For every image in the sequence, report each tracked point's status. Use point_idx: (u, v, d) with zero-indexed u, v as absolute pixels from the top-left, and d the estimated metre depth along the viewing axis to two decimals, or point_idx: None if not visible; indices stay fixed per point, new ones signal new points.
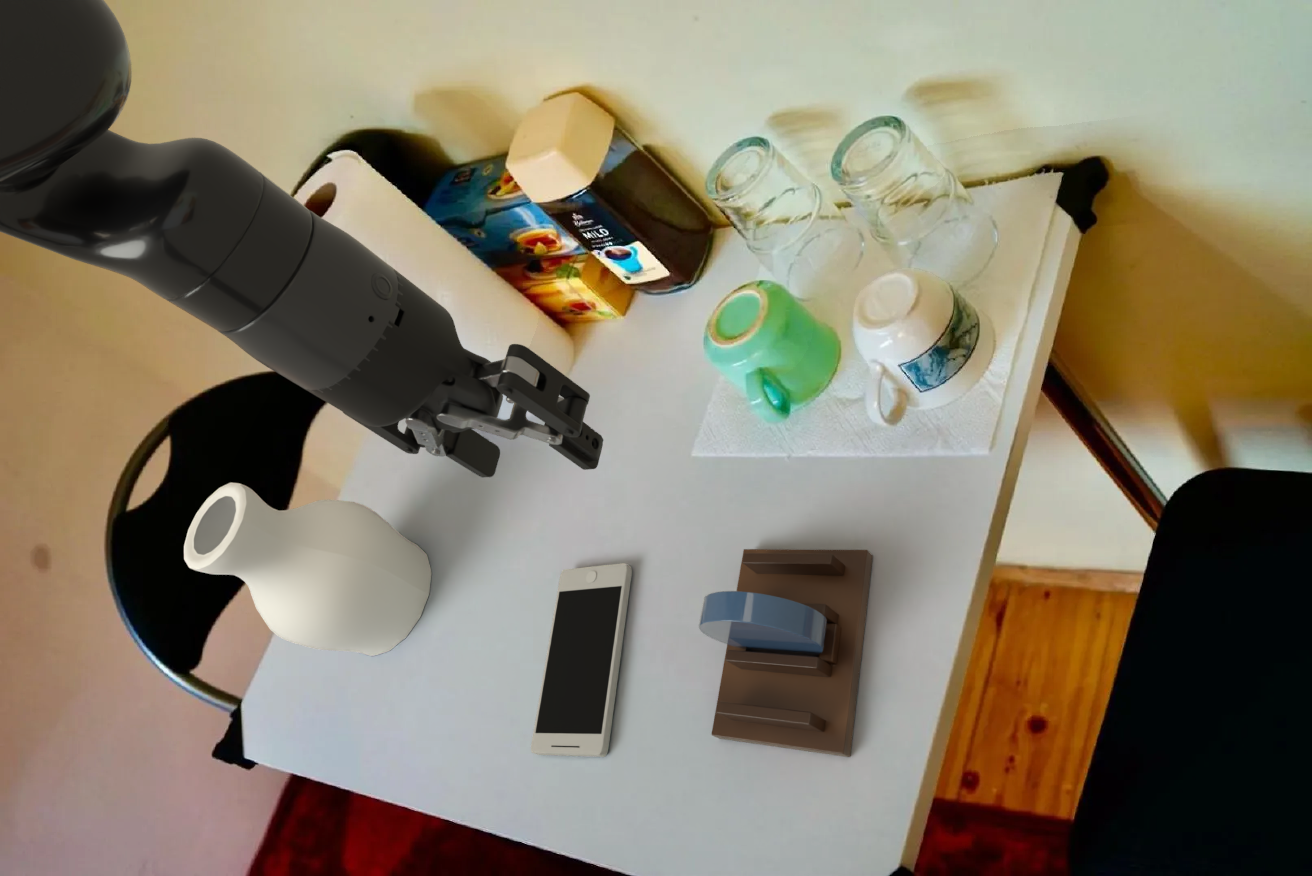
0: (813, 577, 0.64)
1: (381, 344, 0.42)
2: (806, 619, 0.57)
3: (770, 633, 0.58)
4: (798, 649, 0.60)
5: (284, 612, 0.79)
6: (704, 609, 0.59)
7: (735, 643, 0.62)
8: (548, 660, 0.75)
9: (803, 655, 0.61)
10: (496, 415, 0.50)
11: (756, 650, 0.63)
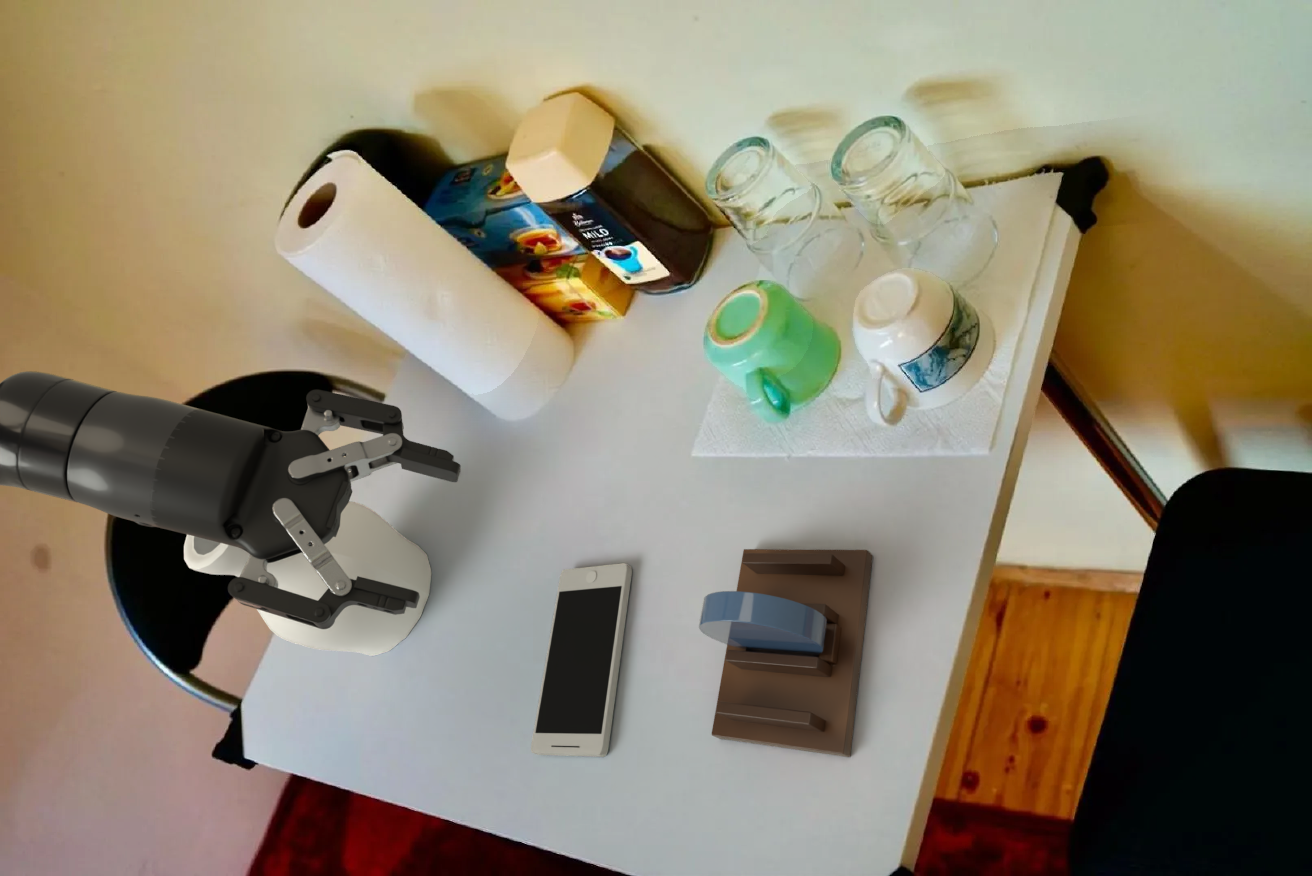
0: (813, 577, 0.64)
1: (202, 410, 0.54)
2: (806, 619, 0.57)
3: (770, 633, 0.58)
4: (798, 649, 0.60)
5: None
6: (704, 609, 0.59)
7: (735, 643, 0.62)
8: (548, 660, 0.75)
9: (803, 655, 0.61)
10: (343, 467, 0.56)
11: (756, 650, 0.63)
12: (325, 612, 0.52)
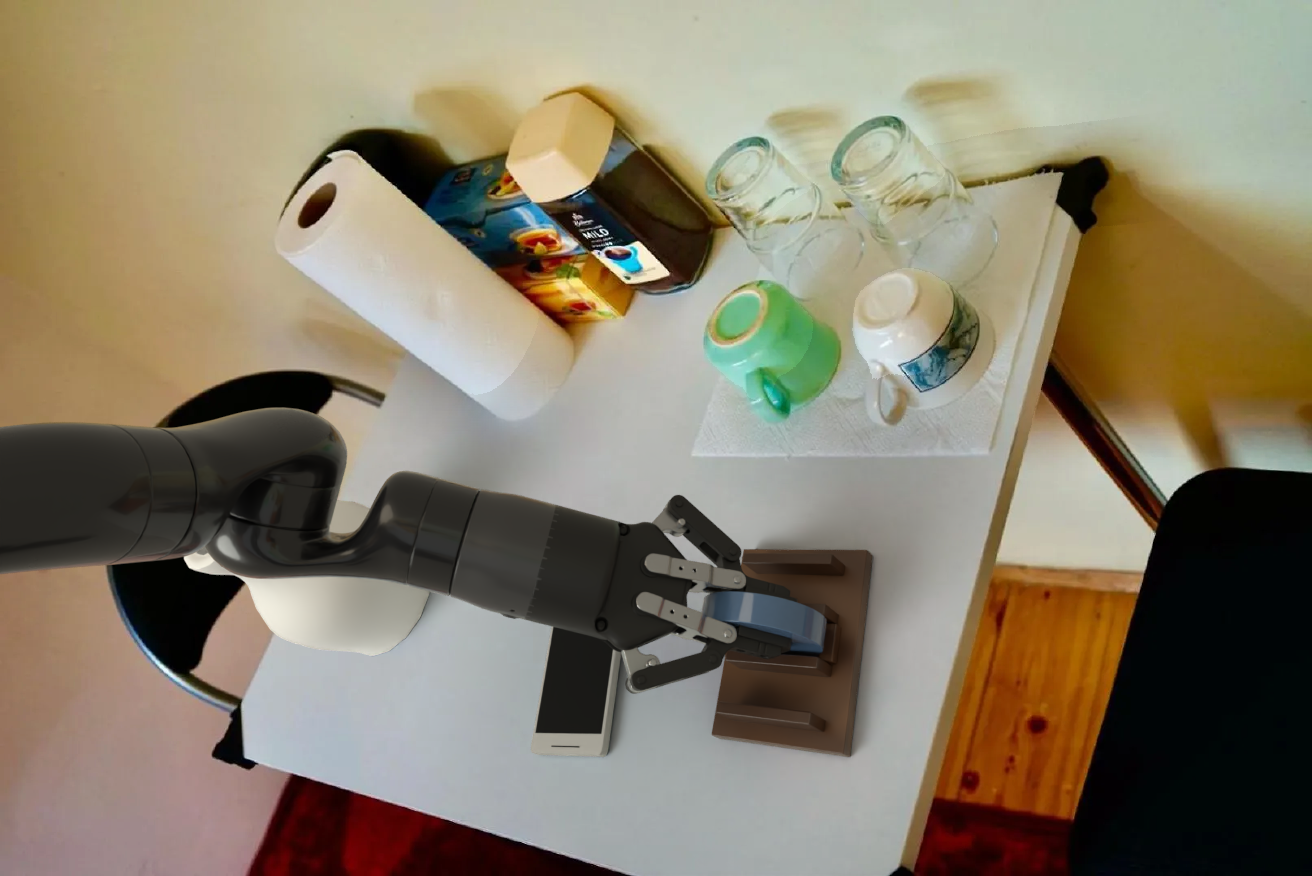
0: (813, 577, 0.64)
1: (559, 506, 0.57)
2: (806, 619, 0.57)
3: None
4: (798, 649, 0.60)
5: (284, 612, 0.79)
6: (704, 609, 0.59)
7: None
8: (548, 660, 0.75)
9: (803, 655, 0.62)
10: (685, 558, 0.59)
11: None
12: (718, 659, 0.56)
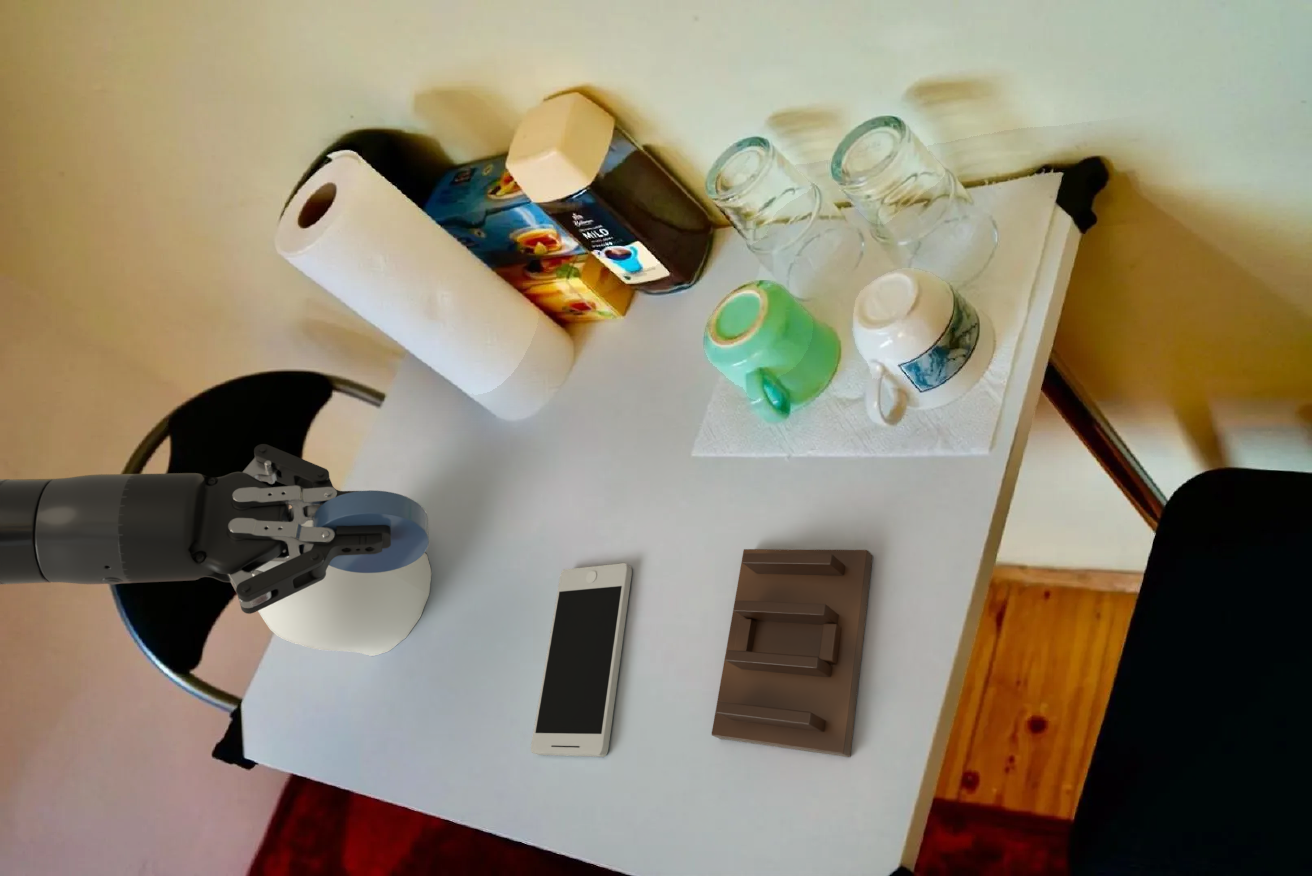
0: (813, 577, 0.64)
1: None
2: (393, 502, 0.65)
3: None
4: (409, 543, 0.67)
5: (284, 612, 0.79)
6: None
7: (360, 565, 0.69)
8: (548, 660, 0.75)
9: (420, 552, 0.69)
10: None
11: (384, 568, 0.70)
12: (319, 555, 0.62)
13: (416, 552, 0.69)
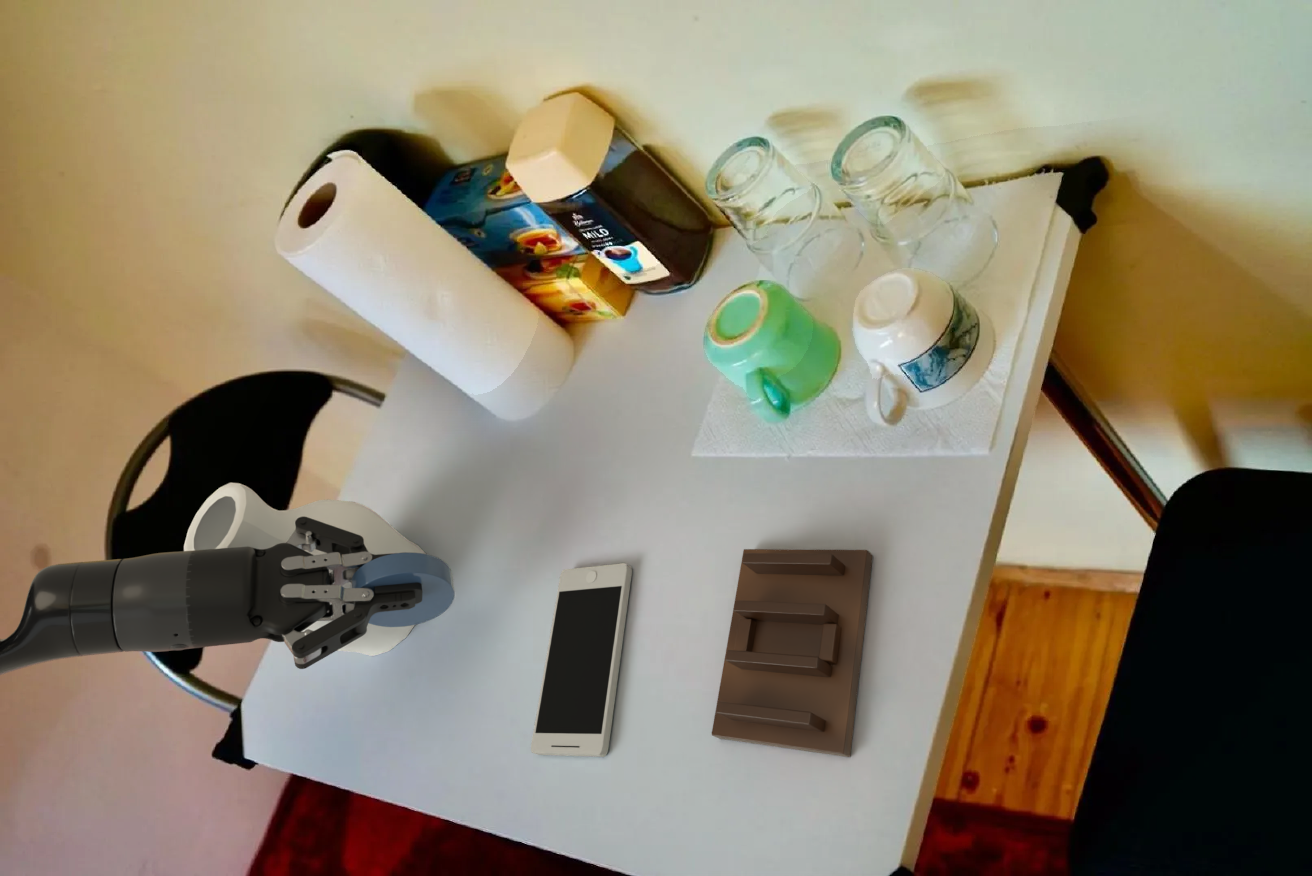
0: (813, 577, 0.64)
1: None
2: (424, 562, 0.73)
3: None
4: (437, 598, 0.76)
5: None
6: None
7: (393, 620, 0.77)
8: (548, 660, 0.75)
9: (447, 605, 0.77)
10: None
11: (414, 622, 0.78)
12: (362, 613, 0.70)
13: (443, 605, 0.77)
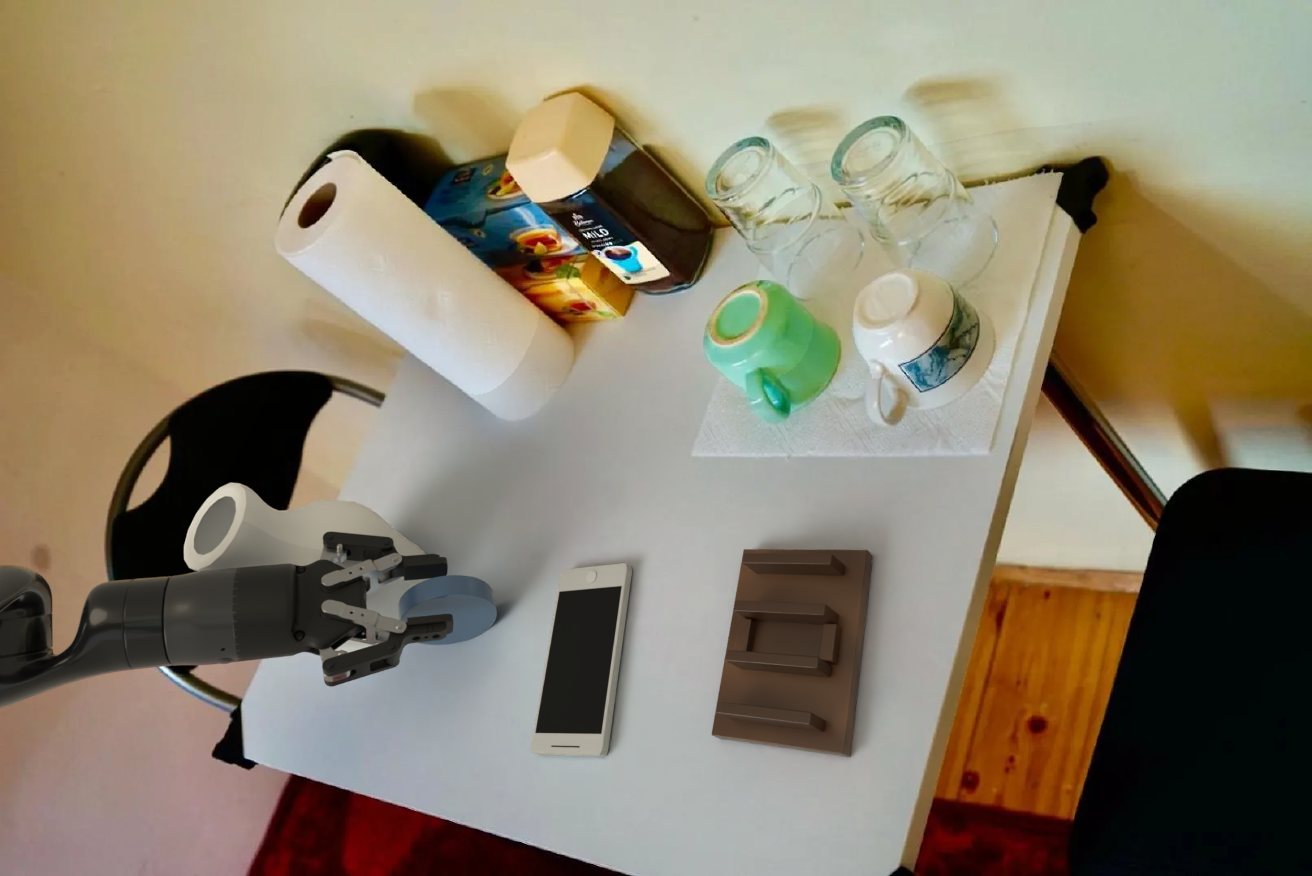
0: (813, 577, 0.64)
1: None
2: (469, 584, 0.77)
3: (448, 605, 0.77)
4: (480, 617, 0.79)
5: None
6: None
7: None
8: (548, 660, 0.75)
9: (489, 624, 0.81)
10: None
11: (457, 640, 0.81)
12: (396, 645, 0.72)
13: (485, 624, 0.81)
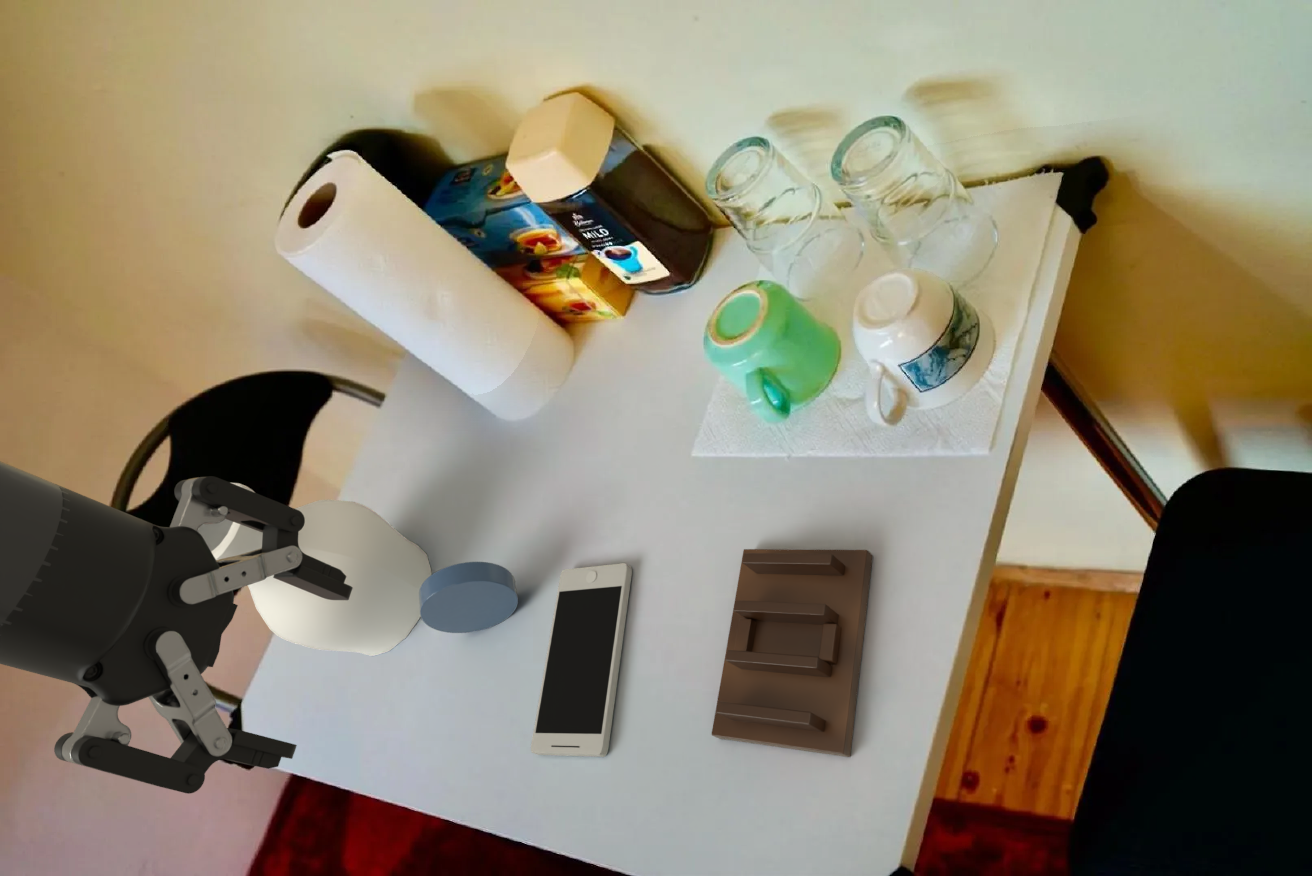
0: (813, 577, 0.64)
1: (66, 491, 0.38)
2: (510, 579, 0.78)
3: (486, 593, 0.77)
4: (494, 614, 0.80)
5: (284, 612, 0.79)
6: (430, 586, 0.76)
7: (441, 623, 0.79)
8: (548, 660, 0.75)
9: (493, 624, 0.81)
10: None
11: (454, 630, 0.80)
12: (199, 779, 0.42)
13: (490, 623, 0.81)
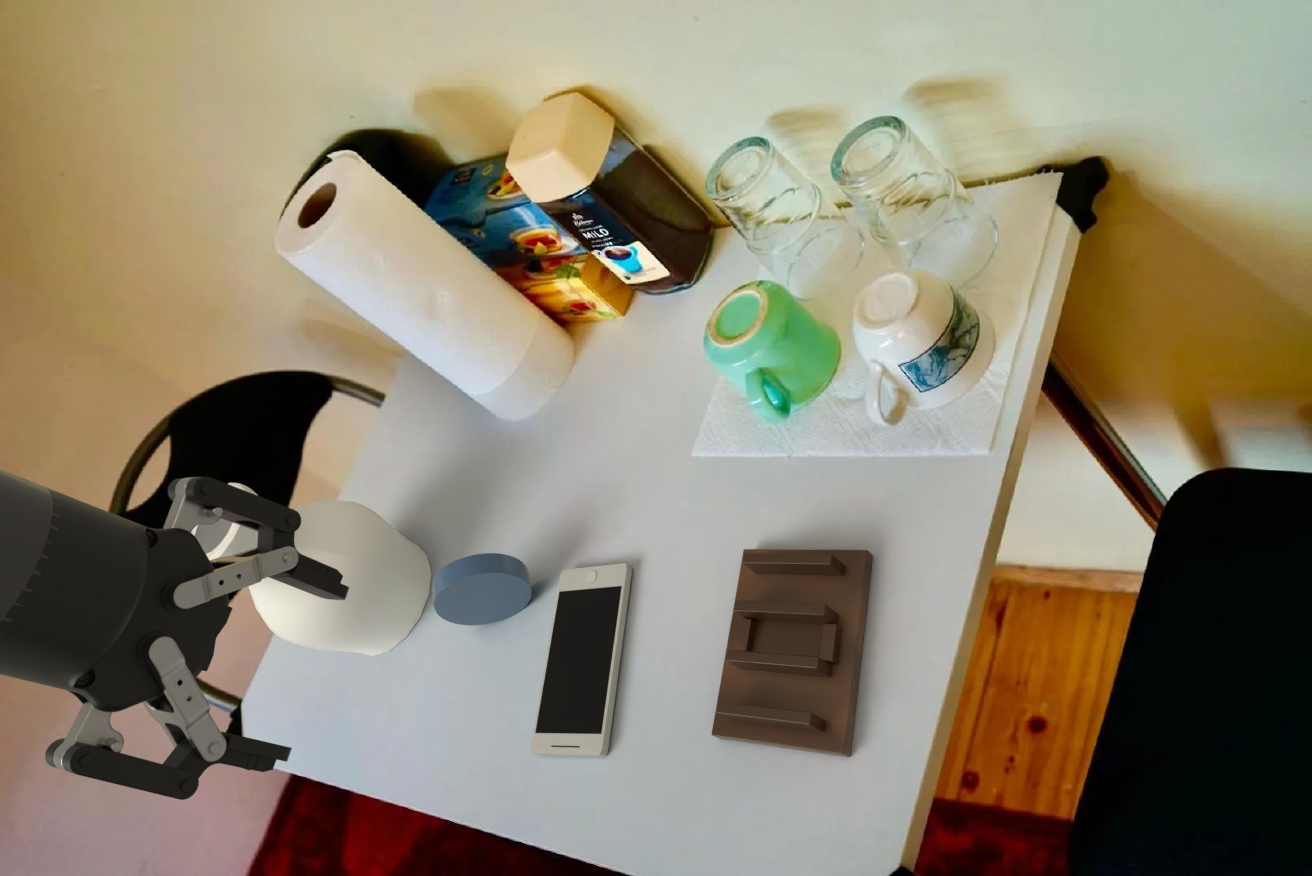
0: (813, 577, 0.64)
1: (56, 494, 0.37)
2: (529, 579, 0.79)
3: (507, 588, 0.77)
4: (499, 612, 0.80)
5: (284, 612, 0.79)
6: (459, 569, 0.75)
7: (448, 609, 0.77)
8: (548, 660, 0.75)
9: (491, 621, 0.80)
10: None
11: (454, 619, 0.79)
12: (193, 785, 0.41)
13: (490, 620, 0.80)
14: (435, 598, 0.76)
